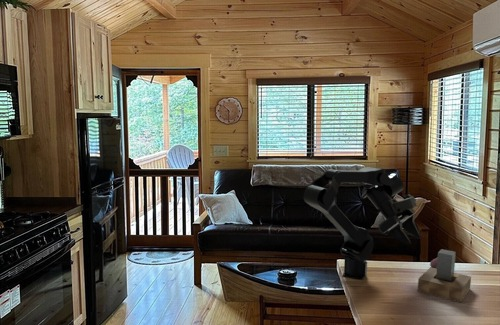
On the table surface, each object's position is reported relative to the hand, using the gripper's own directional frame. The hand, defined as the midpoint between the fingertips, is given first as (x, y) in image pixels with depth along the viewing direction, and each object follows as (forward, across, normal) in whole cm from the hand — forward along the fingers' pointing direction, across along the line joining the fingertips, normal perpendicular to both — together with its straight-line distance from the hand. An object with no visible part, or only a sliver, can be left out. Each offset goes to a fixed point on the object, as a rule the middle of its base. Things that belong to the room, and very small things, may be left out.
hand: (414, 241), depth 140 cm
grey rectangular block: (+16, -3, +2) cm, 17 cm away
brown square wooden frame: (+16, -3, +2) cm, 17 cm away
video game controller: (+13, +12, +5) cm, 19 cm away
